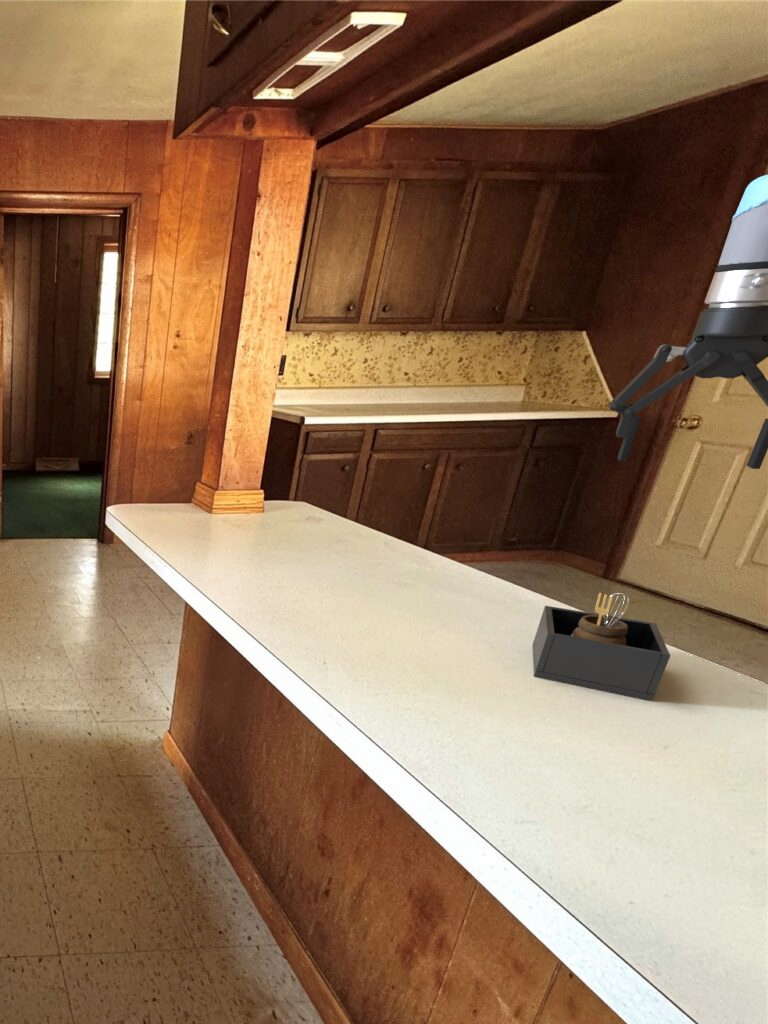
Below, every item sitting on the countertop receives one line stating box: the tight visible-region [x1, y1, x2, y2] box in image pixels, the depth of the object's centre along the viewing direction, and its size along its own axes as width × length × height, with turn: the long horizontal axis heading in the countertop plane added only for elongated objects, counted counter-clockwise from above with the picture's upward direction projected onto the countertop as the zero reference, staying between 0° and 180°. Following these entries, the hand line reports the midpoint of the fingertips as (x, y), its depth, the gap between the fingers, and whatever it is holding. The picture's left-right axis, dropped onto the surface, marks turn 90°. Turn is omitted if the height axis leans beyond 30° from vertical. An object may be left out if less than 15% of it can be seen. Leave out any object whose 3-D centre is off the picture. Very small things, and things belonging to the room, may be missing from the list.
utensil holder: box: [571, 592, 630, 646], centre depth 96 cm, size 6×6×12 cm
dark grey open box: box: [532, 605, 671, 702], centre depth 97 cm, size 13×13×7 cm
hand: (684, 463), depth 97 cm, fingers open, 13 cm apart
